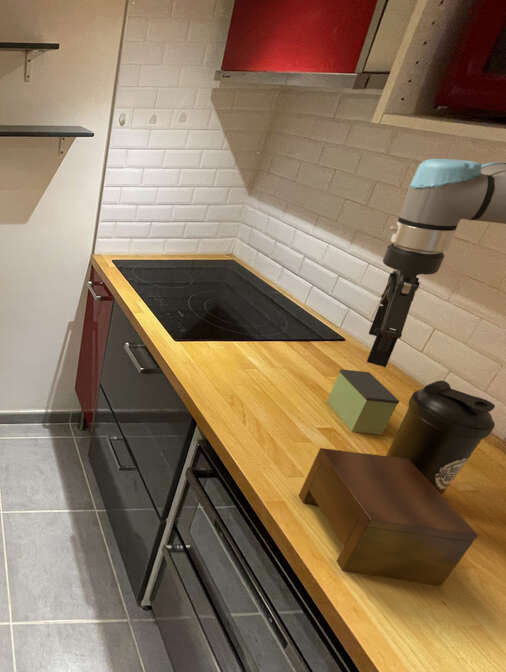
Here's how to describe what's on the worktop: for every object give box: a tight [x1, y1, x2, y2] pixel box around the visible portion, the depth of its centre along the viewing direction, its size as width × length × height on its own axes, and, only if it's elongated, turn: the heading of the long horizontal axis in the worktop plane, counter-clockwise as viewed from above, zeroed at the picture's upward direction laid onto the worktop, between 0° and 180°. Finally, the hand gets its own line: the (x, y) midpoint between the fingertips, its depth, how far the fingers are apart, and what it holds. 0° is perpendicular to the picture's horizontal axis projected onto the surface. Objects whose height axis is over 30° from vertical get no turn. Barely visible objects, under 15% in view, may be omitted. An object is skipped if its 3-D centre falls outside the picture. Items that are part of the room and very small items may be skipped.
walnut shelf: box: [298, 447, 479, 587], centre depth 74 cm, size 14×14×12 cm
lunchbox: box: [326, 369, 400, 436], centre depth 101 cm, size 6×10×10 cm, turn 171°
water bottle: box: [385, 380, 496, 496], centre depth 80 cm, size 10×10×23 cm
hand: (376, 349), depth 88 cm, fingers open, 13 cm apart
